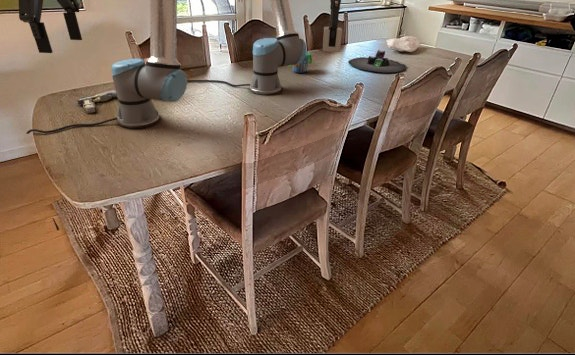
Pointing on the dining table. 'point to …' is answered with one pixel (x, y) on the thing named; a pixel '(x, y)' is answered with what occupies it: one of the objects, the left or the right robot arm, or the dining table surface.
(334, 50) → the brick
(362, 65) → the dark round tray
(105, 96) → the handgun
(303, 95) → the dining table surface
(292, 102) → the dining table surface
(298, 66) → the snack cup
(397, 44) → the crumpled cloth
